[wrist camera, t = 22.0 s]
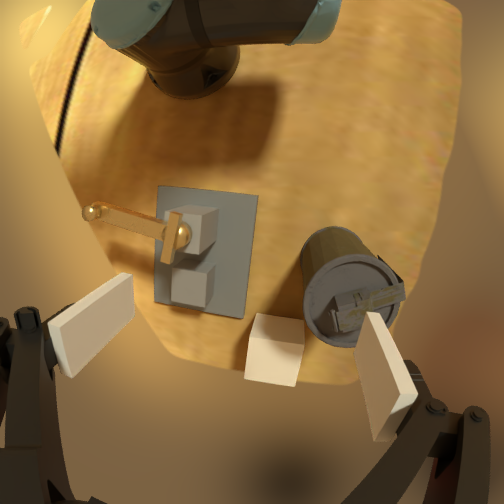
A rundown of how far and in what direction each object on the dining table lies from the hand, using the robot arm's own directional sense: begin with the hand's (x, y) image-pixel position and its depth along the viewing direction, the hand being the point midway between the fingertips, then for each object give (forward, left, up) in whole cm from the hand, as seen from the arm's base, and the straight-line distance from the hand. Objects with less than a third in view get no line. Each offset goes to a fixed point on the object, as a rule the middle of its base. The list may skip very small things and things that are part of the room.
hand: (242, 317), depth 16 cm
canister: (+4, +10, -31) cm, 33 cm away
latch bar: (0, -17, -20) cm, 27 cm away
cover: (+19, +3, -31) cm, 36 cm away
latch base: (+6, -11, -31) cm, 33 cm away
